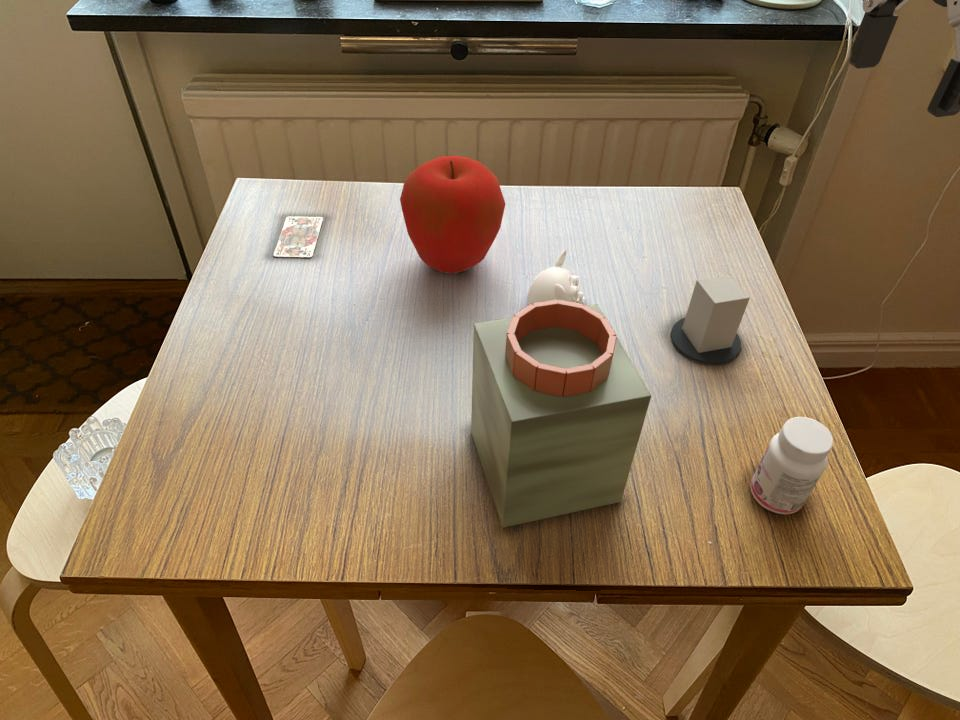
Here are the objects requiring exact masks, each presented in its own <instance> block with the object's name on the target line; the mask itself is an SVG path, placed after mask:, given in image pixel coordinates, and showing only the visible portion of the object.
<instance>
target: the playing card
mask: <svg viewBox="0 0 960 720" xmlns="http://www.w3.org/2000/svg"><path fill="white" fill-rule="evenodd" d="M323 221H324V217H323V216H295V215H294V216H292V215H289V216H286V218H285V221H284V223H283V226H282V228H281V231H280V235H279V237H278V240H277V243H276V246H275V249H274V252H273V257H278V258H312V257H313V256H314V252H315V249H316V245H317V241H318V238H319V235H320V231H321V227H322V224H323Z"/></svg>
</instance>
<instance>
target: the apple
mask: <svg viewBox="0 0 960 720" xmlns="http://www.w3.org/2000/svg"><path fill="white" fill-rule="evenodd" d="M399 201H400V206H401V212H402V215H403V216H402V217H403V219H404V225H405V228H406V232H407V235H408V237H409V239H410V241H411V243H412V245H413V248H414V249H415V251H416V253H417V255H418V257H419V258H420V259H421V261H422V262H423V263H424V264H425V265H426V266H428V267H430V268H431V269H434V270H437V271H438V272H441V273H444V274H457V273H458V274H459V273H461V272H465V271H467V270H469V269H471V268H473V267H476V266H477V265H478V264H480V263H481V262H482V261H484V260H485V258H486V256H487V254H488V252H489V250H490V249H491V247H492V245H493V243H494V241H495V240H496V238H497V236H498V234H499V231H500V230H501V226H502V221H503V218H504V212H505V209H506V201H505V198H504V194H503V191H502V189H501V186H500V182H499V179H498V177H497V176H496V175H495V174H494V173H493V172H492V171H491V170H489V168H488V167H486V166H485V165H484V164H483V163H481V162H480V161H478V160H475V159H472V158H470V157H465V156H460V155H446V156H445V155H442V156H439V157H435V158H433V159H429V160H427V161H426V162H424V163H421V164H420V165H419V166H417V168H415V169H414V170H413V171H412V172H410V173H409V175H408V176H407V178H406V179H405V181H404V182H403V186H402V189H401V194H400V198H399Z"/></svg>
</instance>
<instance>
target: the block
mask: <svg viewBox="0 0 960 720" xmlns="http://www.w3.org/2000/svg"><path fill="white" fill-rule="evenodd" d="M749 301H750V296H749V295H748V293H747V292H746V291H745V290H744V289H743V288H742V287H741V285H740V284H739V283H738V282H737V280H736V279H735V278H734V277H733V276H732V275H731V274H726V275H725V274H724V275H719V276H712V277H706V278H700V279H696V281H695V284H694V288H693V291H692V294H691V298H690V300H689V304H688V307H687V311H686V315H685V317H684V318H685V320H684V324H683V327H682V330H683V331H684V333H685V334H686V336H687V337H688V339H689V340H690V342H691V343H692V344H693V346H694V347H695V349H696V350H697V352H698V353H701V352H707V351H712V350H718V349H723V348H729V347H731V346H732V344H733V341H734V338H735V336H736V333H737V334H738V331H739V327H740V325H741V323H742V320H743V317H744V315H745V313H746V310H747V306H748V304H749Z"/></svg>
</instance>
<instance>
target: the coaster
mask: <svg viewBox="0 0 960 720" xmlns="http://www.w3.org/2000/svg"><path fill="white" fill-rule="evenodd" d="M684 320H685V317H683V318H681V319H679V320H677V321H676V322H675V323H674V324H673V326H672V328H671V330H670V340H671V344H672V345H673V346H674V348H675V349H676V350H677V351H678V353H680V354H681V355H683V356H684V357H686V358H687V359H689V360H691V361H694V362H696V363H699V364H703V365H715V366H716V365H718V366H719V365H724V364H727V363H730V362H732V361H733V360H735V359H737V357H738V356H739V354H740V352H741V350H742V339H741V338H740V335H739V334H738V332H737V333H736V336H735V338H734V341H733V344H732V346H731V347H729V348H723V349H718V350H712V351H707V352H701V353H698V352H697V350H696V349H695V347H694V346H693V344H692V343H691V342H690V340H689V339H688V337H687V336H686V334H685V333H684V331H683V330H682V327H683V324H684Z"/></svg>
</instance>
